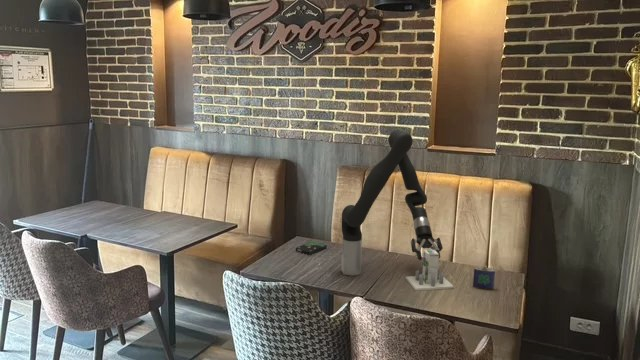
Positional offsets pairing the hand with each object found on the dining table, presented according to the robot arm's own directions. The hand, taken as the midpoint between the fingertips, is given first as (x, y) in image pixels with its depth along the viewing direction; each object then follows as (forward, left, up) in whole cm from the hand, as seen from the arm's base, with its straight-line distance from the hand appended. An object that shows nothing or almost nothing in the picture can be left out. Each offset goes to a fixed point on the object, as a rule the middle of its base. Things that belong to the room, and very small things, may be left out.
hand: (429, 259), depth 242 cm
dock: (0, -1, -12) cm, 12 cm away
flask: (+23, -9, -12) cm, 27 cm away
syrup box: (0, 0, -11) cm, 11 cm away
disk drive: (-48, +52, -12) cm, 72 cm away
